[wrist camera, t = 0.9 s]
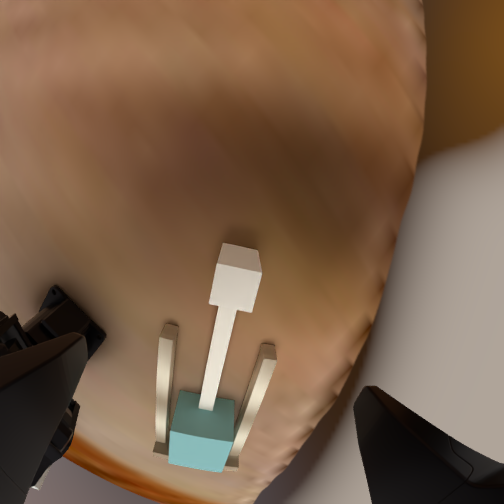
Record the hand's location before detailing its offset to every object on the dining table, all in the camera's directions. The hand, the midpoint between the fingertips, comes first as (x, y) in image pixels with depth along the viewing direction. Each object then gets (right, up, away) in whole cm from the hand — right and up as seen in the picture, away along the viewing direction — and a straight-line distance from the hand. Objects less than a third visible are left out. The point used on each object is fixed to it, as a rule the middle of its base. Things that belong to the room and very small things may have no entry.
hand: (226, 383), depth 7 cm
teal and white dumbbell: (-2, -5, +14) cm, 15 cm away
